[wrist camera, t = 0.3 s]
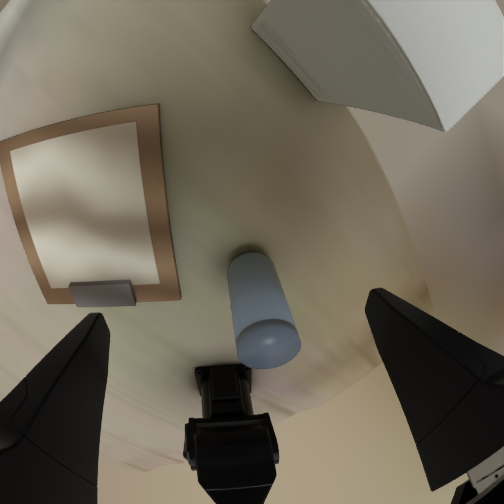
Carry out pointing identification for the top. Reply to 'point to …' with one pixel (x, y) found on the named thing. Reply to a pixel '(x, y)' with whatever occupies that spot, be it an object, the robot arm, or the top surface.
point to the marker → (260, 313)
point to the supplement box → (391, 53)
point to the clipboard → (94, 208)
